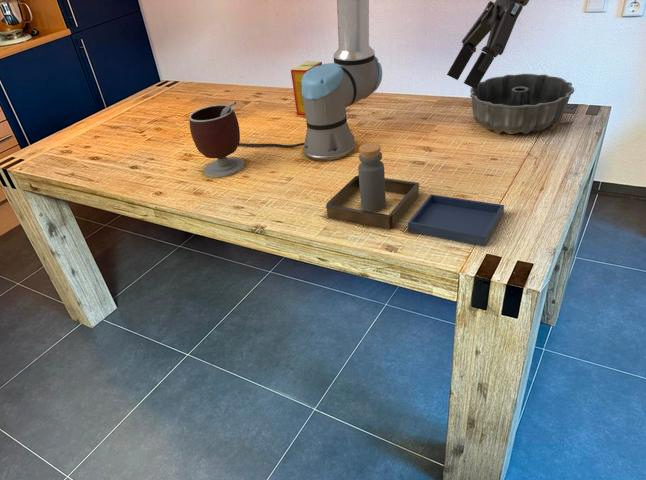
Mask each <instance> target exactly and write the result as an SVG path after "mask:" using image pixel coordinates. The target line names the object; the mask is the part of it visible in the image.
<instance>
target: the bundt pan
mask: <svg viewBox="0 0 646 480" xmlns="http://www.w3.org/2000/svg"><path fill="white" fill-rule="evenodd" d="M469 91H470V95H469V96H470V98H471V105H472V116H473V120H474V121H475V122H476V123H477V124H479V125H480V126H482V128H484V129H486V130H492V131H494V133H496V134H500V133H503V132H504V133H506V134H509V135H514V134H518V133H521V134H522V135H527V134H529V133H530V132H534V133H536V132H540V131H544V130H545V129H548V128H549V129H550V128H552V127H554V126H555V125H556V124H557V123H558V122H559V121H560V119H561V118H562V116H563V115H564V113H565V111H566V109H567V106H568V104H569V100H570V98H571V95H572V94H574V92H575V87H573V83H572V82H569V81H567V80H566V79H564V78H562V77H558V76H552V75H551V76H550V75H548V74H535V73H520V74H519V73H518V74H506V75H505V74H504V75H503V76H494V77H489V78H487V79H485V80H484V81H480V83H479V85H478V86H477V88H476V89H474V88H472V87H470V90H469Z"/></svg>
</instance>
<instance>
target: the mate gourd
mask: <svg viewBox="0 0 646 480" xmlns="http://www.w3.org/2000/svg"><path fill="white" fill-rule="evenodd" d="M235 105H237V101H232V102H231V103H229V104H213V105H209V106H204V107H201V108H199V109H197V110H194V111H193V112H191V113H190V114H189V115H188V119H189V131H190V134H191V138H192V141H193V142H194V146H195V147H196V150H197V151H198V152H199V153H200V154H201V155H202V156H203V157H205V158H208V159H216V160H213V161H212V162H209V163H208V164H206V165H205V167H204V169H203V173H204V174H205V176H207V177H210V178H223V177H228V176H232V175H235V174H236V173H238V172H240V171H242V170H243V169H244V167H245V162H244V159H242V158H239V157H236V156H235V157H234V156H233V157H228V156H230V155H232V154H234V153H235V152H236V151H237V149H238V147H239V146H240V145H239V143H241V129H240V125H239V121H238V117H237V115H236V112H235V110H234V107H233V106H235Z"/></svg>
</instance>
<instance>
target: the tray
mask: <svg viewBox="0 0 646 480" xmlns="http://www.w3.org/2000/svg"><path fill="white" fill-rule="evenodd" d="M504 210H505V204H499V203H492V202H487V201H479V200H474V199H472V200H471V199H466V198H459V197H452V196H446V195H438V194H433V193H431V194H430V195H429V196H428V197H427V198H426V199H425V201H424V202H423V203H422V204H421V206H420V207H419V208H418V209H417V211H415V213H414V214H413V216H411V218H410V219H409V220H408V222H407V232H409V233H413V234H419V235H425V236H429V237H433V238H434V237H435V238H440V239H444V240H450V241H455V242H461V243H466V244H471V245H477V246H481V247H485V246H486V245H487V243H488V241H489V240H490V238H491V236H492V234H493V233H494V231H495V229H496V228H497V226H498V224H499V222H500V221H501V219H502V217H503V216H504Z"/></svg>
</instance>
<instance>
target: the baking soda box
mask: <svg viewBox="0 0 646 480" xmlns="http://www.w3.org/2000/svg"><path fill="white" fill-rule="evenodd" d="M322 64H323V62H322V61H304V62H303V63H301V64H299V65H297V66H296V67H294V68H292V69H290V74H291V82H292V89H293V96H294V103H295V110H296V115H297V116H302V117H303V116H304V117H306V116H305V109H304V102H303V95H302V83H301V81H302V77H303V75H304V74H305V73H306V72H307V71H308V70H310V69H312V68H314V67H316V66H321V65H322Z"/></svg>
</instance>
